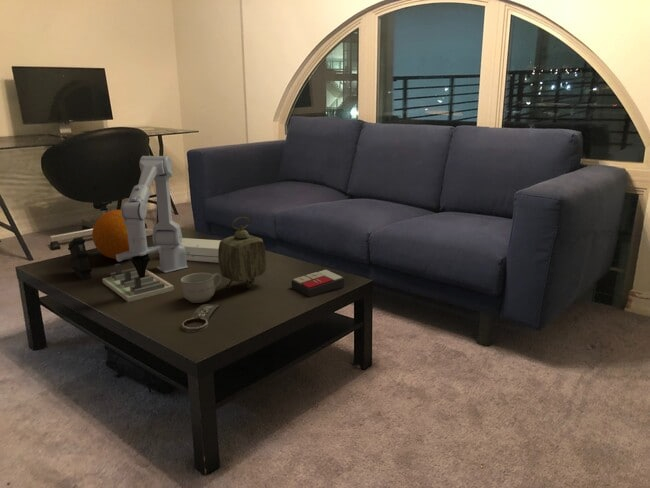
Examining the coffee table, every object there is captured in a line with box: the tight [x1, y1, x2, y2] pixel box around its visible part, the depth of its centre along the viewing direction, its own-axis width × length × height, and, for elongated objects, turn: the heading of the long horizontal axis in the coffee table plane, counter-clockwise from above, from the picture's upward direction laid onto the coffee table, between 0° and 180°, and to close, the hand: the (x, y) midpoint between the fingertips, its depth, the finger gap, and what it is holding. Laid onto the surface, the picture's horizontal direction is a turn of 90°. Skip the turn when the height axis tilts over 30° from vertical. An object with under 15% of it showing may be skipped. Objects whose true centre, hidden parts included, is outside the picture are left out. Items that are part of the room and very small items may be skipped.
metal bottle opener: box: [181, 303, 221, 333], centre depth 166 cm, size 8×19×2 cm, turn 172°
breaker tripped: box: [134, 276, 142, 289], centre depth 183 cm, size 2×2×5 cm
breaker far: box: [114, 263, 123, 276], centre depth 196 cm, size 2×2×5 cm
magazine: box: [67, 236, 92, 281], centre depth 203 cm, size 4×13×15 cm, turn 39°
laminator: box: [181, 237, 222, 264], centre depth 224 cm, size 34×12×6 cm, turn 75°
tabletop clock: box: [218, 216, 267, 290], centre depth 187 cm, size 14×9×25 cm, turn 135°
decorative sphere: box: [91, 209, 129, 260], centre depth 221 cm, size 20×20×20 cm
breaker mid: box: [124, 269, 132, 282], centre depth 190 cm, size 2×2×5 cm
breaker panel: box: [101, 267, 175, 303], centre depth 192 cm, size 16×24×3 cm, turn 40°
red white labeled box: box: [291, 269, 345, 298], centre depth 189 cm, size 11×4×15 cm
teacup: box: [180, 272, 223, 304], centre depth 180 cm, size 14×11×8 cm
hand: (141, 276), depth 183 cm, fingers closed
